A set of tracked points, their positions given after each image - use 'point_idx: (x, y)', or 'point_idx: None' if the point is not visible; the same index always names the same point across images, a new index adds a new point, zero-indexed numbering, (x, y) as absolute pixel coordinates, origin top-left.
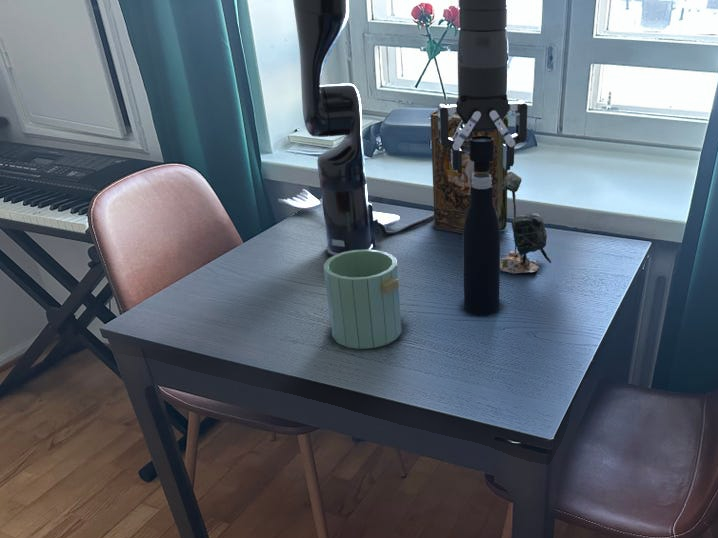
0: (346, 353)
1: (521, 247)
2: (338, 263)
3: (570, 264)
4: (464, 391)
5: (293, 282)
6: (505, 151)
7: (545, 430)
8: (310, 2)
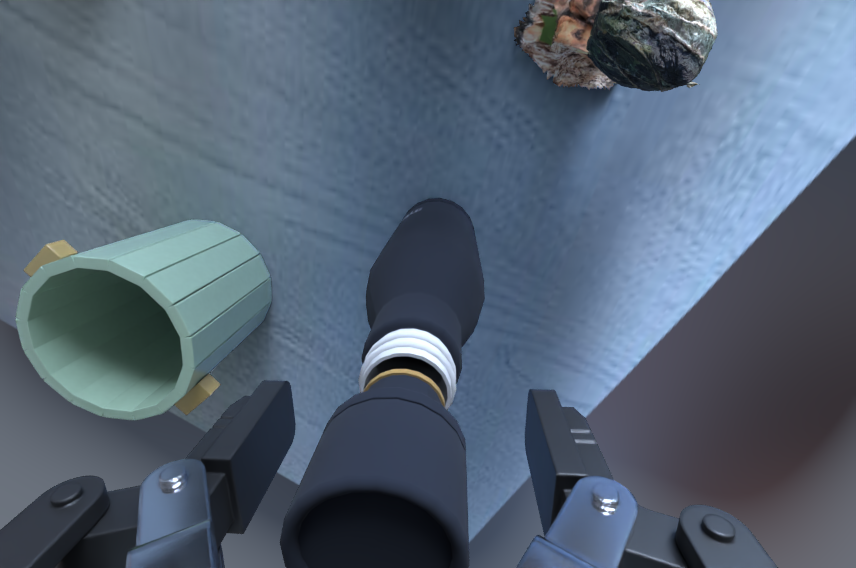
0: None
1: (599, 66)
2: (54, 284)
3: (737, 37)
4: None
5: (3, 6)
6: (544, 501)
7: None
8: None
